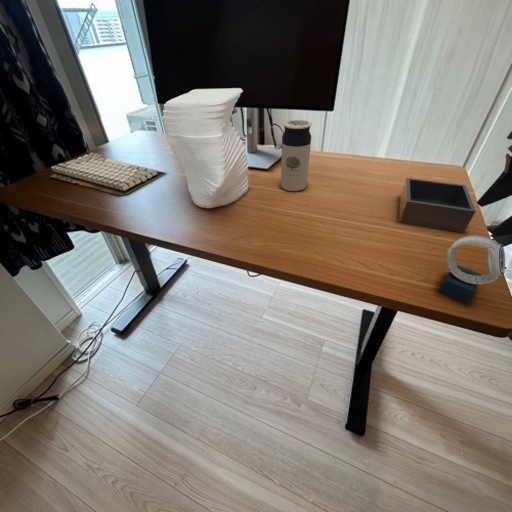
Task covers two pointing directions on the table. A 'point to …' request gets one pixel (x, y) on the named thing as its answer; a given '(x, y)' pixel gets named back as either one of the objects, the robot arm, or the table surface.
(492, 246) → the watch
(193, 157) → the paper stack
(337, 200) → the table surface
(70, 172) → the mechanical keyboard
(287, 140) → the travel mug
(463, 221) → the basin
